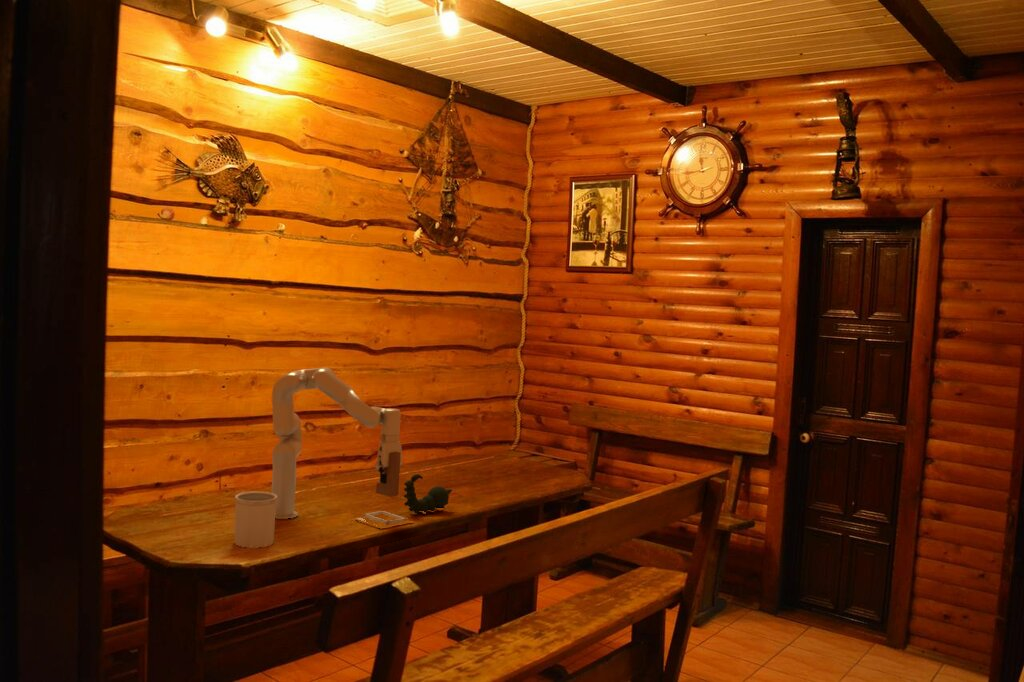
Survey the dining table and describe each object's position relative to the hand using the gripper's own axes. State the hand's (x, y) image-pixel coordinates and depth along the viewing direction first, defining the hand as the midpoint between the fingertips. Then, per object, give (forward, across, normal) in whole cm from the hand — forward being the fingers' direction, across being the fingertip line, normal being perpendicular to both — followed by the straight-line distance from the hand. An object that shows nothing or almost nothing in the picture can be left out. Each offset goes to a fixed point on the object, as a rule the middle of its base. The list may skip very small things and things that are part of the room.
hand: (387, 481), depth 352 cm
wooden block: (+6, 0, 0) cm, 6 cm away
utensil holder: (+17, -59, +4) cm, 62 cm away
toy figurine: (+17, +26, +2) cm, 31 cm away
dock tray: (+17, 0, 0) cm, 17 cm away
